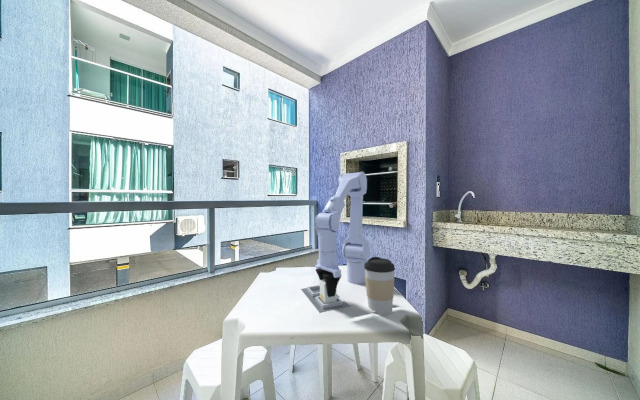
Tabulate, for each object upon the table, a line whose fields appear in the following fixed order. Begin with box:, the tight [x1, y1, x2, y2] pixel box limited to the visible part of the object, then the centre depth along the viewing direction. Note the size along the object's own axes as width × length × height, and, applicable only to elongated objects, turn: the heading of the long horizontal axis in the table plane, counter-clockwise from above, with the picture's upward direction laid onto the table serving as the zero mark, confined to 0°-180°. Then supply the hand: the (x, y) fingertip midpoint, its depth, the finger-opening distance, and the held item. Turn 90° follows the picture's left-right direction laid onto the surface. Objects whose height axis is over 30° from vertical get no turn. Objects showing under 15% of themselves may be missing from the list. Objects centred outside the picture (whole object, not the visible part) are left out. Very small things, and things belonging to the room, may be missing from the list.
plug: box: [319, 279, 337, 304], centre depth 70 cm, size 4×4×7 cm
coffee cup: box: [364, 256, 396, 316], centre depth 67 cm, size 9×9×15 cm
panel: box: [300, 284, 351, 314], centre depth 74 cm, size 10×19×2 cm, turn 22°
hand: (328, 293), depth 70 cm, fingers closed on plug, 4 cm apart
